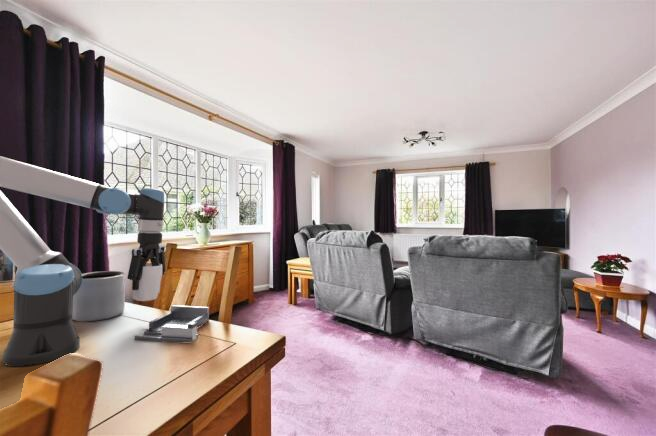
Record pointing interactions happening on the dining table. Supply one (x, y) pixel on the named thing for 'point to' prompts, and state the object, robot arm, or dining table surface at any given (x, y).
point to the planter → (99, 296)
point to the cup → (150, 281)
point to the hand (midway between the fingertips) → (146, 295)
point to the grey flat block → (180, 331)
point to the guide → (151, 338)
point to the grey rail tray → (181, 317)
